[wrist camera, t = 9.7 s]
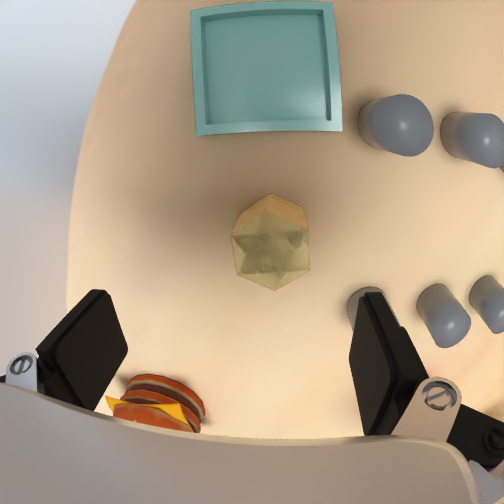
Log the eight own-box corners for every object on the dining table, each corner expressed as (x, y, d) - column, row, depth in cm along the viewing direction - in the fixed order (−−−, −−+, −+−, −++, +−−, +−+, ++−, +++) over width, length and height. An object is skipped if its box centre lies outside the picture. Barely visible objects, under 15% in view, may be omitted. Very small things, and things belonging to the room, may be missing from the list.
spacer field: (356, 97, 15) (376, 90, 11) (521, 130, 13) (554, 137, 10) (344, 322, 22) (353, 358, 18) (487, 309, 20) (507, 335, 16)
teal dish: (197, 18, 14) (190, 10, 12) (328, 10, 13) (332, 2, 11) (203, 135, 17) (196, 136, 16) (337, 130, 16) (342, 131, 15)
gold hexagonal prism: (238, 196, 19) (227, 214, 15) (301, 190, 18) (306, 208, 14) (247, 261, 20) (239, 292, 17) (306, 257, 20) (310, 288, 16)
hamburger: (186, 370, 26) (167, 425, 20) (217, 423, 30) (207, 471, 24) (111, 369, 28) (86, 414, 22) (149, 419, 31) (133, 460, 25)
